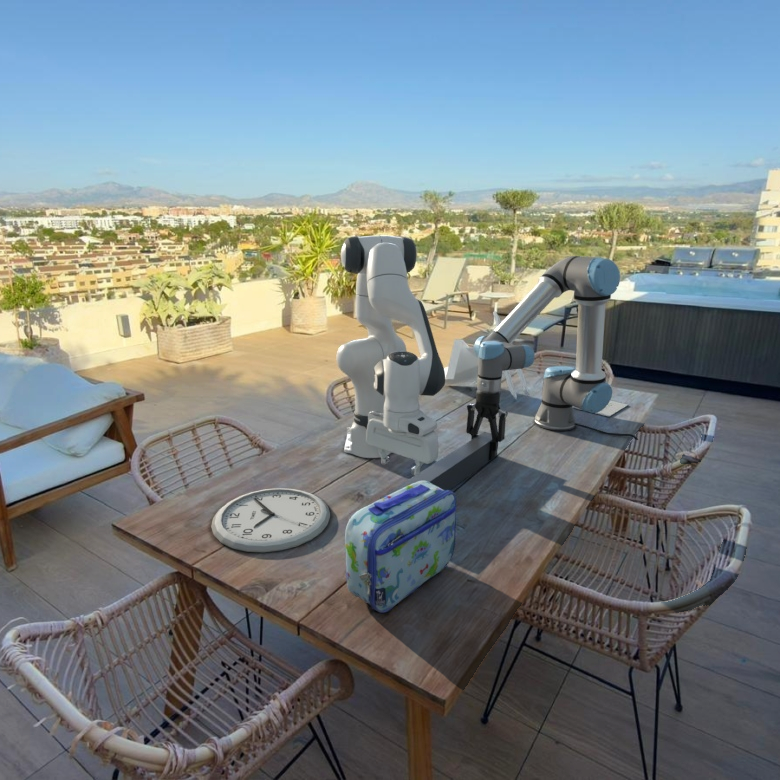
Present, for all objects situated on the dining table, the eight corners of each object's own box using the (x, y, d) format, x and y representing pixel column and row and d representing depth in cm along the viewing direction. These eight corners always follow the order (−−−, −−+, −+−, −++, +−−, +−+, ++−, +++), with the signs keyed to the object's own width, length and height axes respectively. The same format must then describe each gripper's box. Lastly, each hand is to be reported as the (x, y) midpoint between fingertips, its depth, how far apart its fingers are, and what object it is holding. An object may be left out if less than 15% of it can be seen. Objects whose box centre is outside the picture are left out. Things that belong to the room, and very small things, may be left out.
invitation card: (608, 416, 214) (573, 407, 224) (608, 416, 214) (573, 408, 224) (628, 404, 229) (594, 396, 238) (628, 405, 229) (594, 397, 238)
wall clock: (328, 544, 122) (196, 548, 120) (328, 550, 123) (197, 554, 120) (331, 483, 151) (225, 486, 148) (331, 488, 151) (225, 491, 149)
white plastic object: (461, 429, 252) (437, 405, 227) (444, 352, 274) (420, 323, 250) (535, 404, 240) (518, 377, 215) (510, 326, 262) (492, 293, 237)
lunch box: (374, 626, 100) (375, 530, 93) (338, 598, 107) (337, 508, 101) (459, 568, 117) (465, 484, 111) (424, 547, 124) (427, 467, 118)
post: (482, 451, 179) (484, 431, 177) (496, 455, 176) (498, 435, 174) (379, 522, 135) (380, 497, 133) (396, 529, 132) (396, 503, 130)
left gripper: (360, 412, 132) (360, 462, 136) (428, 431, 121) (426, 485, 125) (376, 405, 137) (375, 454, 141) (443, 423, 125) (440, 475, 130)
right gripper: (457, 387, 169) (453, 453, 176) (510, 398, 159) (503, 468, 166) (468, 382, 175) (464, 446, 182) (520, 392, 164) (513, 460, 171)
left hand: (400, 469), depth 133 cm, fingers open, 8 cm apart
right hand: (483, 456), depth 174 cm, fingers closed on post, 5 cm apart
